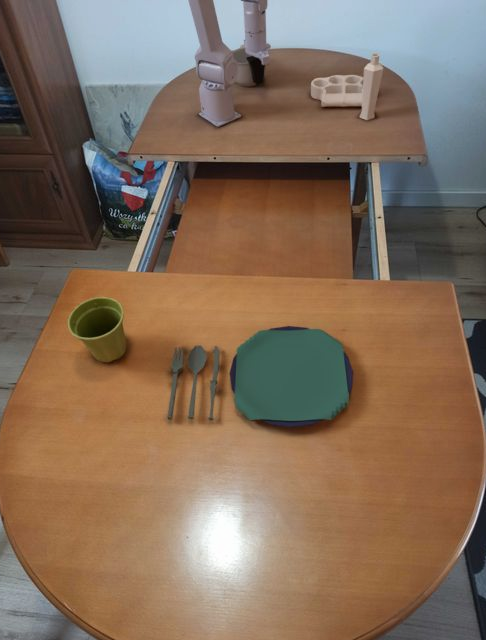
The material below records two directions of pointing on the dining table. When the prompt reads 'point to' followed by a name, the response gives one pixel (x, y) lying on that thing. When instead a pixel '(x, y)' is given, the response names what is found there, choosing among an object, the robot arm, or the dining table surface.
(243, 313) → the dining table surface
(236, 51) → the teacup
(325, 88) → the white multi-hole holder
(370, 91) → the perfume bottle
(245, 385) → the cutlery set
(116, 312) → the plant pot
